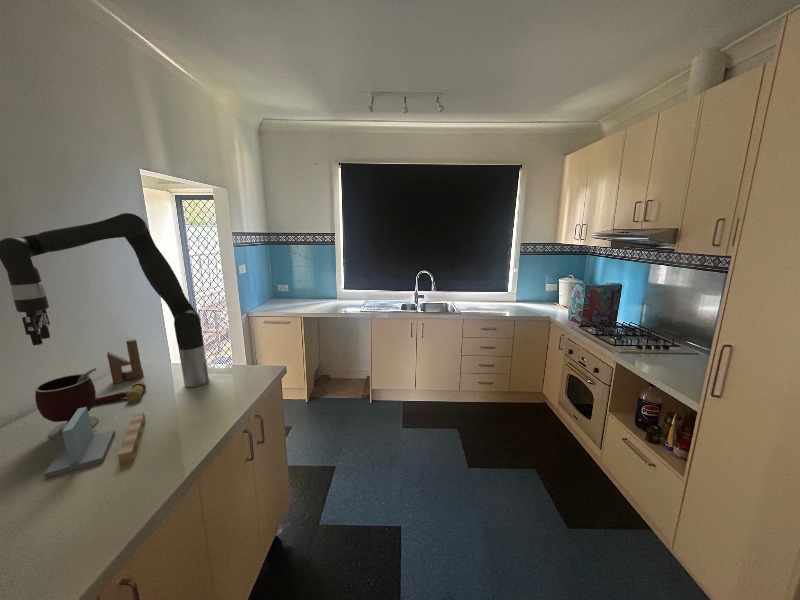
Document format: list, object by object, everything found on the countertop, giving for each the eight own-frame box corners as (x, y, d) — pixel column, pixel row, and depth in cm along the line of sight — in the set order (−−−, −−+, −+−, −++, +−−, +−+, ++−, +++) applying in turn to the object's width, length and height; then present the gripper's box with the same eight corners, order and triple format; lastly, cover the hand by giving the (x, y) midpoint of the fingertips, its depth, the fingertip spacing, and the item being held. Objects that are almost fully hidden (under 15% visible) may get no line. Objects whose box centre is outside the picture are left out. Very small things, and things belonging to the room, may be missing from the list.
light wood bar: (134, 424, 113) (132, 415, 112) (145, 421, 115) (144, 412, 114) (119, 465, 93) (117, 455, 92) (134, 461, 95) (131, 451, 94)
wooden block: (113, 380, 146) (105, 343, 143) (143, 374, 153) (136, 338, 149) (113, 383, 144) (104, 345, 140) (143, 377, 150) (136, 340, 146)
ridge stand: (115, 433, 108) (108, 401, 105) (103, 462, 94) (94, 425, 92) (66, 446, 101) (57, 411, 99) (45, 478, 88) (34, 439, 86)
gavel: (69, 407, 119) (79, 395, 128) (72, 418, 120) (83, 405, 129) (139, 390, 128) (144, 380, 137) (142, 400, 129) (147, 390, 138)
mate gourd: (38, 446, 102) (22, 388, 97) (53, 424, 113) (39, 372, 109) (103, 429, 110) (91, 375, 106) (111, 411, 121) (100, 361, 117)
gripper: (38, 298, 107) (51, 344, 110) (51, 292, 118) (62, 334, 122) (4, 301, 103) (18, 349, 106) (21, 294, 114) (33, 338, 118)
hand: (42, 341), depth 114 cm, fingers open, 8 cm apart
